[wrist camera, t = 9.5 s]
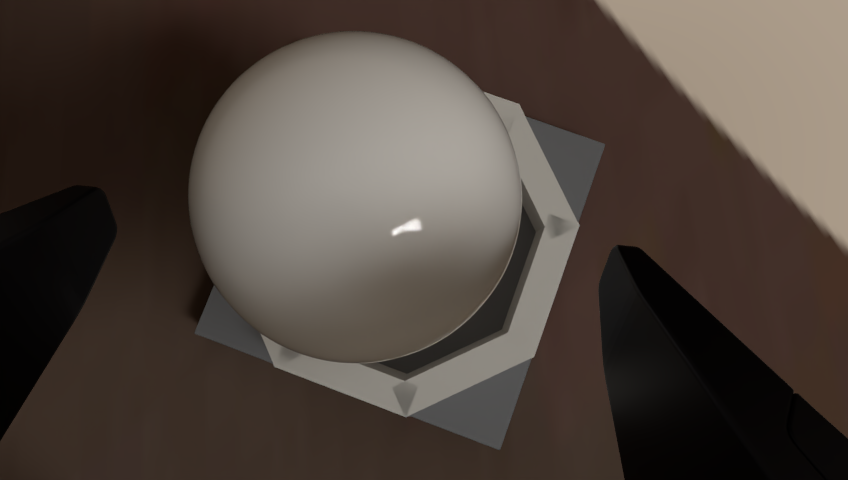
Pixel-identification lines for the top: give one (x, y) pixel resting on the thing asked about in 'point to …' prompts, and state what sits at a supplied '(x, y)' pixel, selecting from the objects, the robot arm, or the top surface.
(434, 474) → the top surface
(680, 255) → the top surface
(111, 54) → the top surface
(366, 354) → the lightbulb
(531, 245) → the bulb stand
